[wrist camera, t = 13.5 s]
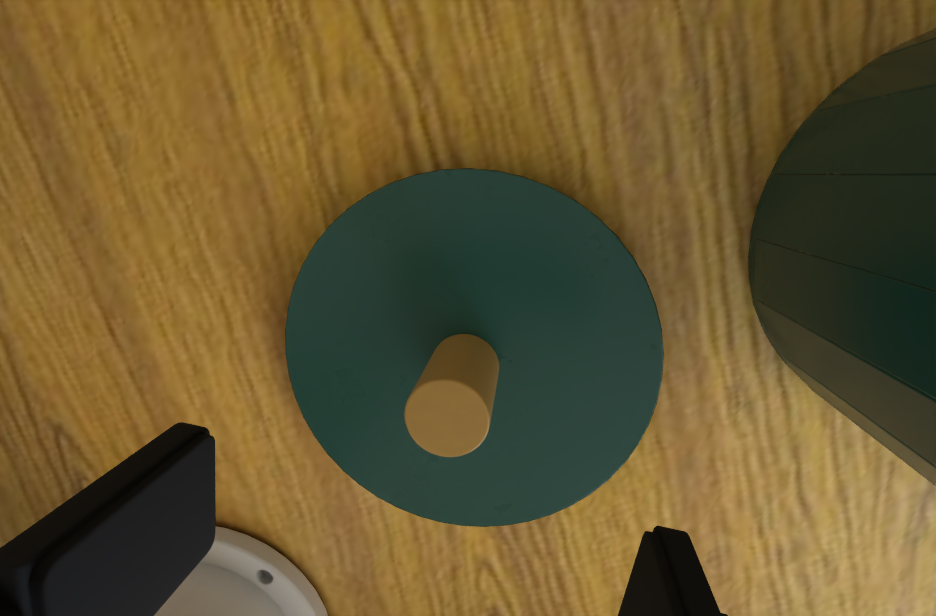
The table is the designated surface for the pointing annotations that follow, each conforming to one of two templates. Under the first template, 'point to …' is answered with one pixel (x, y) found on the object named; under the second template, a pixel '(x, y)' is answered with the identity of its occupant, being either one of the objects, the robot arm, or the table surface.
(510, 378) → the canister lid
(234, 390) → the table surface
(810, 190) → the canister
